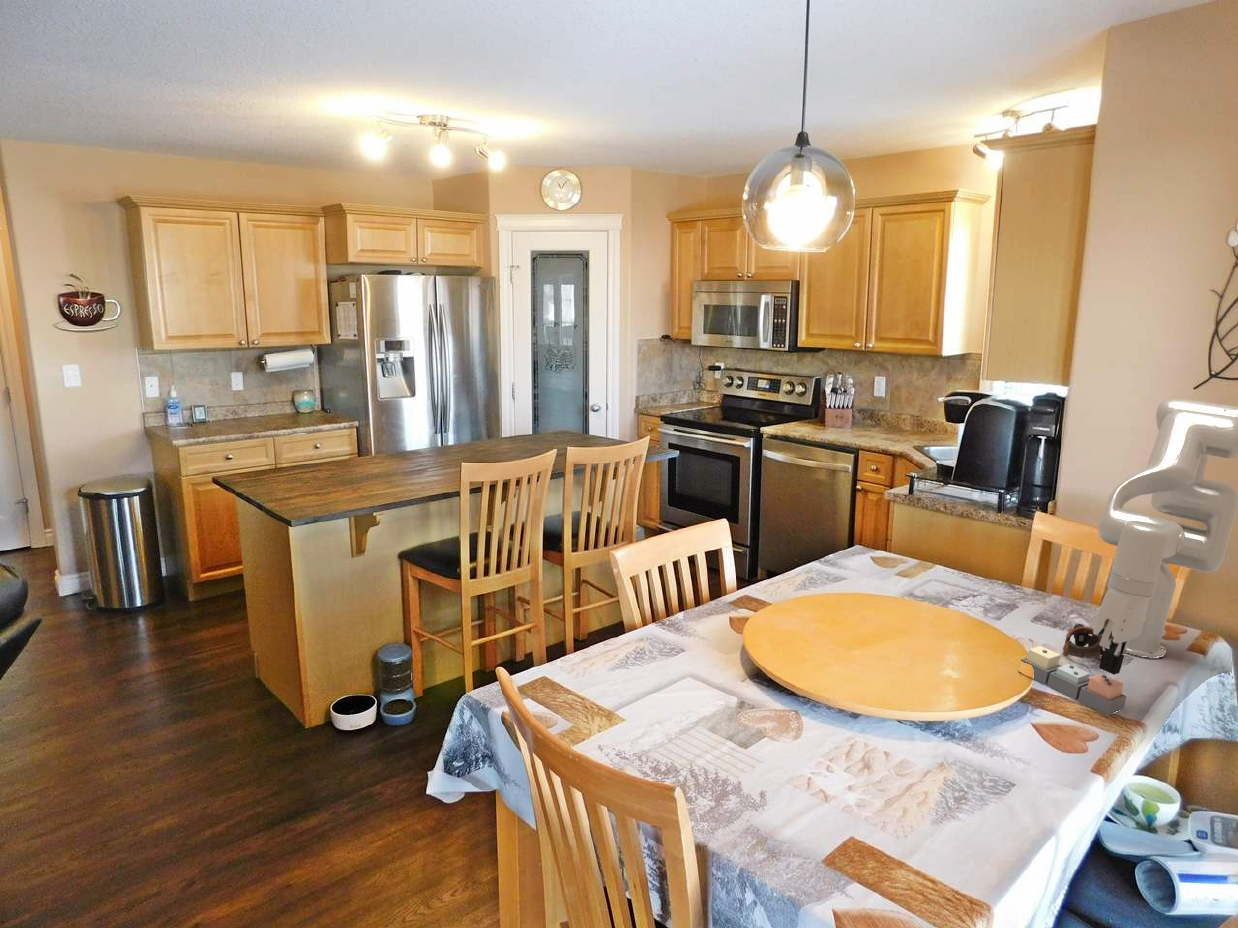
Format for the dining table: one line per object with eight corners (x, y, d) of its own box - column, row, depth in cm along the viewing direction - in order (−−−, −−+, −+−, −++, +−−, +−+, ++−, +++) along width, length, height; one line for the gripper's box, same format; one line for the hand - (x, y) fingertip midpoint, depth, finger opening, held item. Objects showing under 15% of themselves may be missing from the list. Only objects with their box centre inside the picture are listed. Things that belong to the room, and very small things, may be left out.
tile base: (1093, 694, 167) (1096, 681, 166) (1123, 709, 162) (1127, 695, 161) (1077, 701, 164) (1080, 687, 163) (1107, 715, 159) (1111, 702, 158)
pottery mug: (1120, 671, 180) (1115, 644, 176) (1075, 682, 182) (1070, 655, 179) (1096, 636, 190) (1091, 609, 187) (1054, 646, 193) (1048, 620, 189)
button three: (1096, 691, 165) (1101, 672, 164) (1119, 701, 162) (1124, 682, 161) (1085, 695, 163) (1090, 676, 162) (1107, 706, 159) (1112, 686, 158)
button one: (1036, 662, 176) (1041, 644, 175) (1056, 671, 172) (1060, 653, 171) (1025, 666, 174) (1029, 648, 172) (1044, 675, 170) (1049, 657, 169)
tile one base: (1034, 666, 177) (1036, 654, 177) (1060, 679, 172) (1063, 666, 172) (1018, 671, 174) (1021, 659, 173) (1044, 684, 169) (1047, 671, 168)
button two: (1064, 681, 171) (1069, 662, 170) (1085, 690, 167) (1090, 672, 166) (1053, 685, 168) (1057, 666, 167) (1073, 695, 165) (1078, 676, 164)
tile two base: (1062, 680, 172) (1065, 667, 171) (1091, 693, 167) (1094, 680, 166) (1046, 685, 169) (1050, 672, 168) (1075, 699, 164) (1078, 686, 163)
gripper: (1130, 573, 163) (1109, 656, 167) (1091, 581, 155) (1069, 668, 159) (1170, 587, 157) (1147, 673, 161) (1132, 596, 149) (1108, 686, 153)
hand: (1109, 670), depth 160 cm, fingers closed
